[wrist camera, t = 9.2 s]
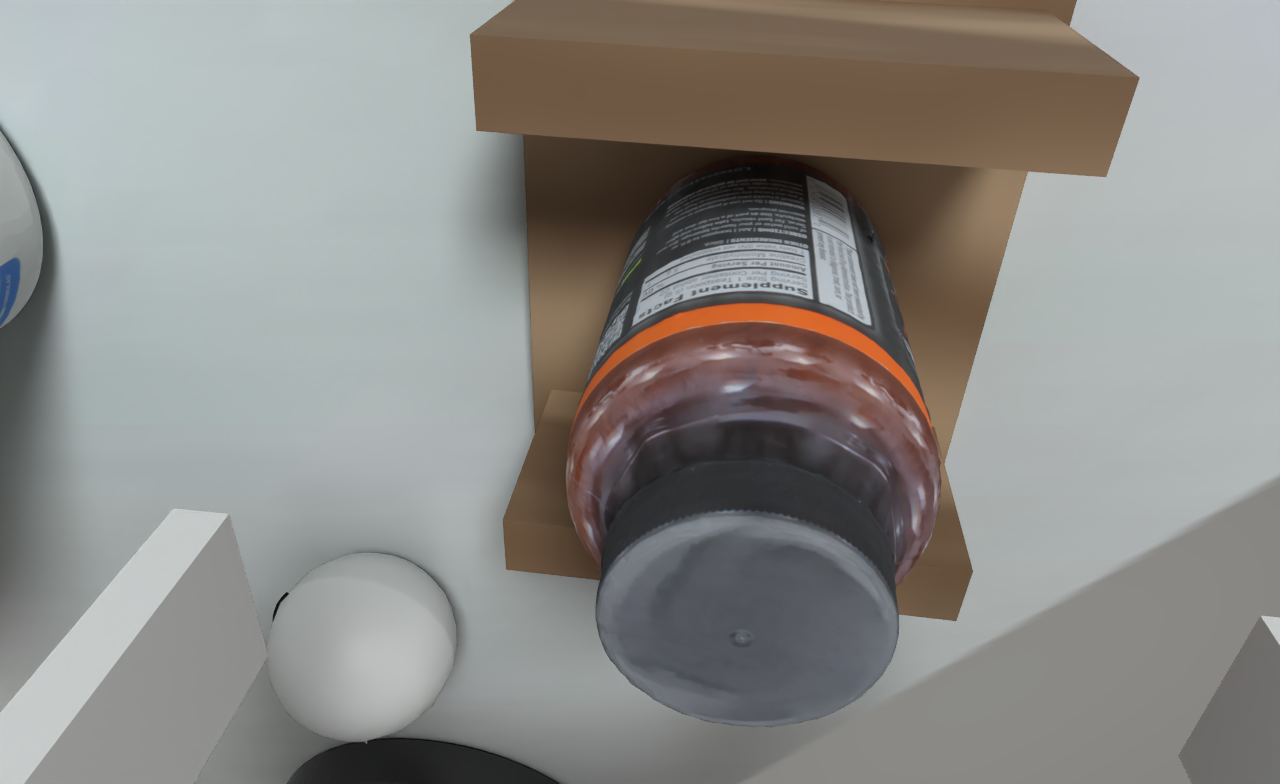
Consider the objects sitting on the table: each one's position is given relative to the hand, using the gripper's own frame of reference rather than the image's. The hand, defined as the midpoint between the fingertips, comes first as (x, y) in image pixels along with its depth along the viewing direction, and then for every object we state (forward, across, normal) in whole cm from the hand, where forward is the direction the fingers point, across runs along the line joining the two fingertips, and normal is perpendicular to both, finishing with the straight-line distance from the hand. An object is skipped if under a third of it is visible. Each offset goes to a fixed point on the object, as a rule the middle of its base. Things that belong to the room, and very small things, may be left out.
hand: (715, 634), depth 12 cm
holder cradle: (+12, -1, -1) cm, 12 cm away
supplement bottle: (+11, -1, 0) cm, 11 cm away
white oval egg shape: (+13, +10, +13) cm, 21 cm away
